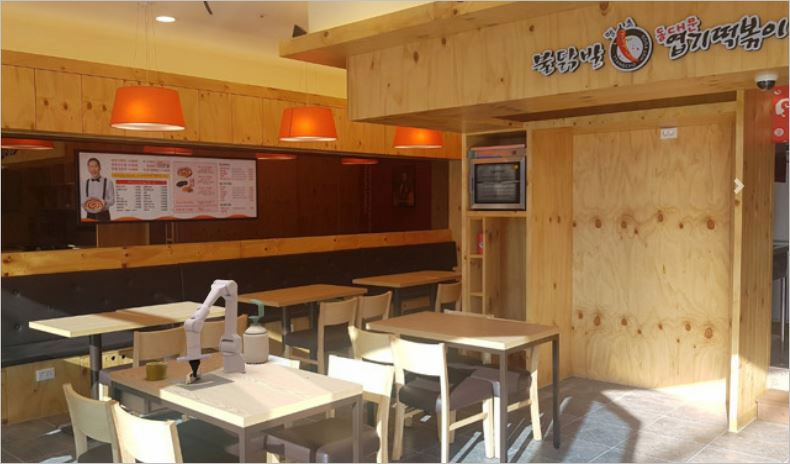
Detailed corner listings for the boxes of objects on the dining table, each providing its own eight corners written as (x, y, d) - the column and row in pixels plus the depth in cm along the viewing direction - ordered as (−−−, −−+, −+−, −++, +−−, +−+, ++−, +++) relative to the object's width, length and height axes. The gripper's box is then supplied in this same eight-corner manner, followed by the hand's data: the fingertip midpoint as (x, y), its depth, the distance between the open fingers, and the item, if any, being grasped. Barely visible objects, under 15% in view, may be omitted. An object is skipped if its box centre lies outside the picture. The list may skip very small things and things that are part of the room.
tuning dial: (192, 377, 316) (192, 367, 315) (202, 377, 315) (202, 367, 315) (181, 384, 303) (181, 374, 303) (191, 384, 303) (191, 374, 302)
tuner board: (210, 375, 324) (210, 373, 324) (235, 383, 308) (235, 381, 308) (166, 384, 309) (166, 381, 309) (190, 393, 293) (190, 390, 293)
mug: (163, 379, 310) (158, 357, 312) (143, 386, 312) (138, 364, 314) (178, 378, 321) (173, 357, 323) (159, 384, 323) (154, 363, 326)
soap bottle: (251, 358, 358) (249, 297, 357) (273, 359, 355) (271, 298, 354) (239, 364, 346) (237, 301, 345) (262, 365, 343) (260, 301, 342)
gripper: (207, 342, 314) (208, 372, 314) (174, 346, 306) (175, 377, 307) (212, 345, 308) (213, 375, 308) (178, 349, 300) (179, 380, 301)
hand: (194, 377), depth 307 cm, fingers closed, pressing on tuning dial
